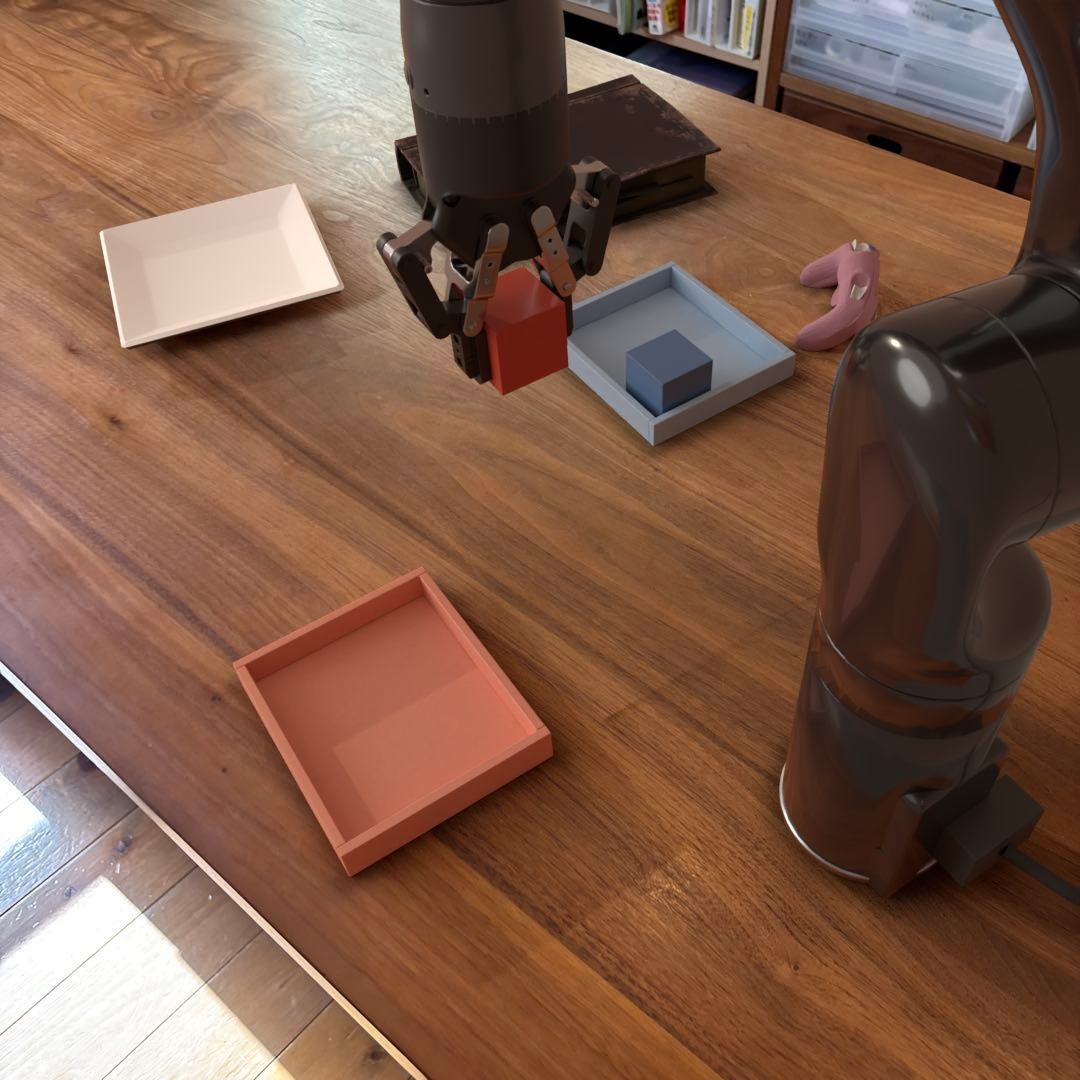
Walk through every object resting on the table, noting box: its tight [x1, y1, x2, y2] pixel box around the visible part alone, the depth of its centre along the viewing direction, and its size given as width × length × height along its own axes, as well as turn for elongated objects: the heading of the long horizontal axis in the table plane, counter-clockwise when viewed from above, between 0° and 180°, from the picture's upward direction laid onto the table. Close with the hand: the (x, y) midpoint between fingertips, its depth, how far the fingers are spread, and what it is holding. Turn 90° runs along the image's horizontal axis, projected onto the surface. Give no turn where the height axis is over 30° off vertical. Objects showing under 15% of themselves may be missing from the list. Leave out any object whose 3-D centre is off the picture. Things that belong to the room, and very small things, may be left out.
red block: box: [483, 265, 569, 397], centre depth 63 cm, size 4×4×4 cm
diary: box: [393, 73, 722, 242], centre depth 103 cm, size 19×25×5 cm
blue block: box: [626, 329, 713, 418], centre depth 81 cm, size 4×4×4 cm
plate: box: [99, 182, 345, 350], centre depth 98 cm, size 19×19×2 cm
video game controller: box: [794, 239, 881, 352], centre depth 87 cm, size 10×5×7 cm, turn 168°
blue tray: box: [567, 260, 797, 447], centre depth 86 cm, size 15×13×2 cm
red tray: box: [232, 566, 554, 878], centre depth 66 cm, size 15×13×2 cm
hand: (516, 357), depth 65 cm, fingers closed on red block, 4 cm apart
